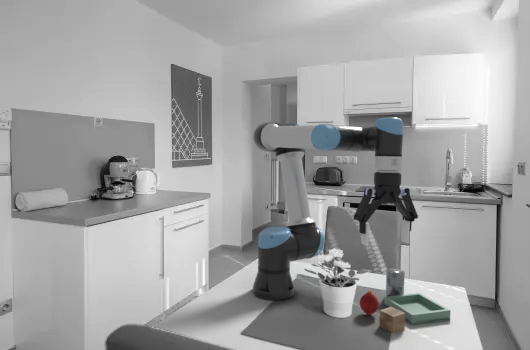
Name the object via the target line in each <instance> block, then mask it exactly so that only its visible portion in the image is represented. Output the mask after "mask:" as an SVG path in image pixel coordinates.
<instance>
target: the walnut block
mask: <svg viewBox="0 0 530 350" xmlns="http://www.w3.org/2000/svg"><path fill="white" fill-rule="evenodd" d="M405 325H406V320H405V313H404V312H402V311H400V310H397V309H395V308H393V307H388V308H387V307H385V308H382V309H379V323H378V326H379V328H382V329H383V330H385V331H388V332H389V333H391V334H396V333H398V332H402V331H404V330H405V329H406V327H405Z"/></svg>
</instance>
